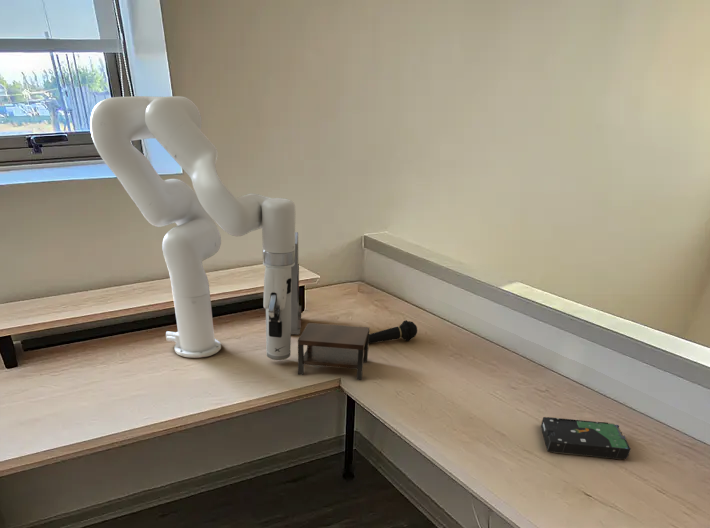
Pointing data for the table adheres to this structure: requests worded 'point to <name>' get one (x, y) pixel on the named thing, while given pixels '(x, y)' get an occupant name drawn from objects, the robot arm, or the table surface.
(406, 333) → the microphone
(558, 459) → the table surface
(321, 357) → the plate
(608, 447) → the disk drive
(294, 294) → the tall grey pillar
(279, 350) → the travel mug
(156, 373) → the table surface
